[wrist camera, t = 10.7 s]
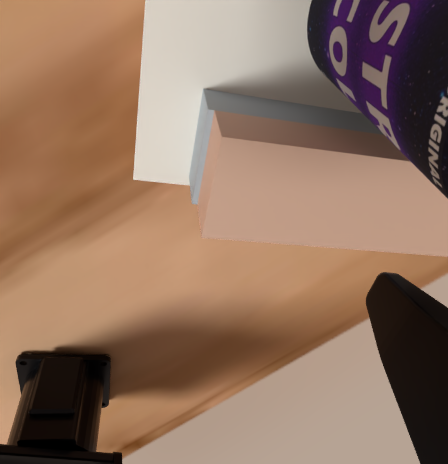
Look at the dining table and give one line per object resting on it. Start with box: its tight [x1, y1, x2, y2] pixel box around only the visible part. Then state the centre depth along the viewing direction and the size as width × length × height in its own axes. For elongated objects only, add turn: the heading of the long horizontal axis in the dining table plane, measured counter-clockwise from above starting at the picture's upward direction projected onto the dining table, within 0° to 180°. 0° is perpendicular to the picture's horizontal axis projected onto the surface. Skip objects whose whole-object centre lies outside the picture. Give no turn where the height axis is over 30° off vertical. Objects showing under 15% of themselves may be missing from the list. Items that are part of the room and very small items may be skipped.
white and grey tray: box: [133, 0, 362, 185], centre depth 16 cm, size 16×18×6 cm
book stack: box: [189, 89, 448, 257], centre depth 19 cm, size 4×13×5 cm, turn 79°
